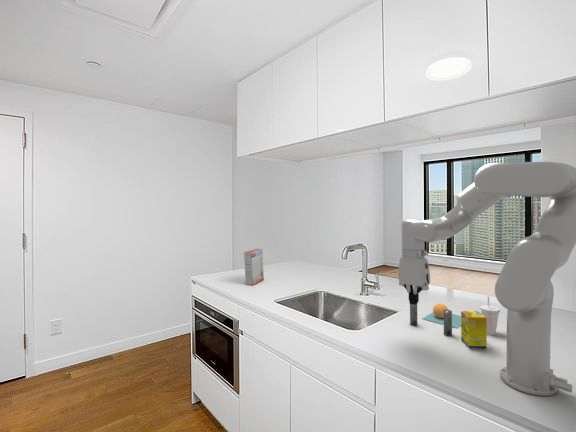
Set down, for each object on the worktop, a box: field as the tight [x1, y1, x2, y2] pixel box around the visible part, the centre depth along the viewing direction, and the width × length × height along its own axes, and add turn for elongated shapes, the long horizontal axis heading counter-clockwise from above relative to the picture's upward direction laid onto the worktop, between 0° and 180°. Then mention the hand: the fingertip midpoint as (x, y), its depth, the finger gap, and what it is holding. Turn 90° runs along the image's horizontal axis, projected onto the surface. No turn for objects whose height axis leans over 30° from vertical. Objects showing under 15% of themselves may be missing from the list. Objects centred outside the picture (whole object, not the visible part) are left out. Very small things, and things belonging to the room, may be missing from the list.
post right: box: [443, 309, 453, 337], centre depth 117 cm, size 3×3×9 cm
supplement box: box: [460, 310, 488, 349], centre depth 108 cm, size 6×6×11 cm
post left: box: [409, 303, 418, 327], centre depth 127 cm, size 3×3×9 cm
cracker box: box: [243, 248, 265, 286], centre depth 200 cm, size 14×6×21 cm, turn 155°
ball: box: [432, 303, 449, 318], centre depth 133 cm, size 6×6×6 cm
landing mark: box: [421, 311, 461, 329], centre depth 132 cm, size 14×14×1 cm
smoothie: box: [479, 296, 501, 336], centre depth 117 cm, size 6×6×14 cm
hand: (413, 303), depth 113 cm, fingers closed
